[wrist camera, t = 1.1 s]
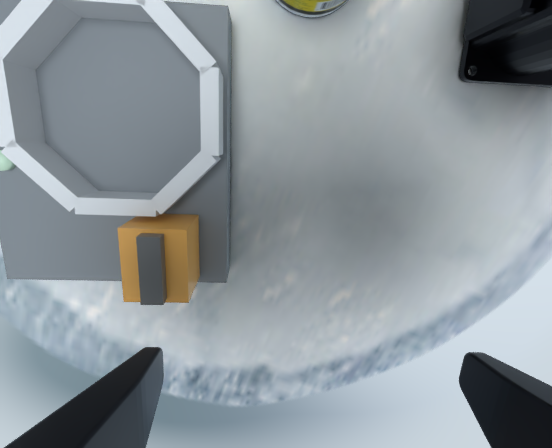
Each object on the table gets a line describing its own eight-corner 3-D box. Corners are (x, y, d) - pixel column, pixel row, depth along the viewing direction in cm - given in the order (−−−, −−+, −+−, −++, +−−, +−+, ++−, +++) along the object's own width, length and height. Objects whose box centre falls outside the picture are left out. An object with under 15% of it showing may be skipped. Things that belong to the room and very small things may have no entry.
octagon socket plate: (231, 21, 17) (223, -15, 13) (229, 269, 20) (222, 299, 16) (-10, 4, 16) (-96, -40, 12) (32, 265, 19) (-24, 296, 16)
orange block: (198, 214, 17) (183, 233, 14) (199, 276, 18) (185, 309, 14) (141, 213, 17) (111, 231, 13) (145, 275, 18) (118, 308, 14)
